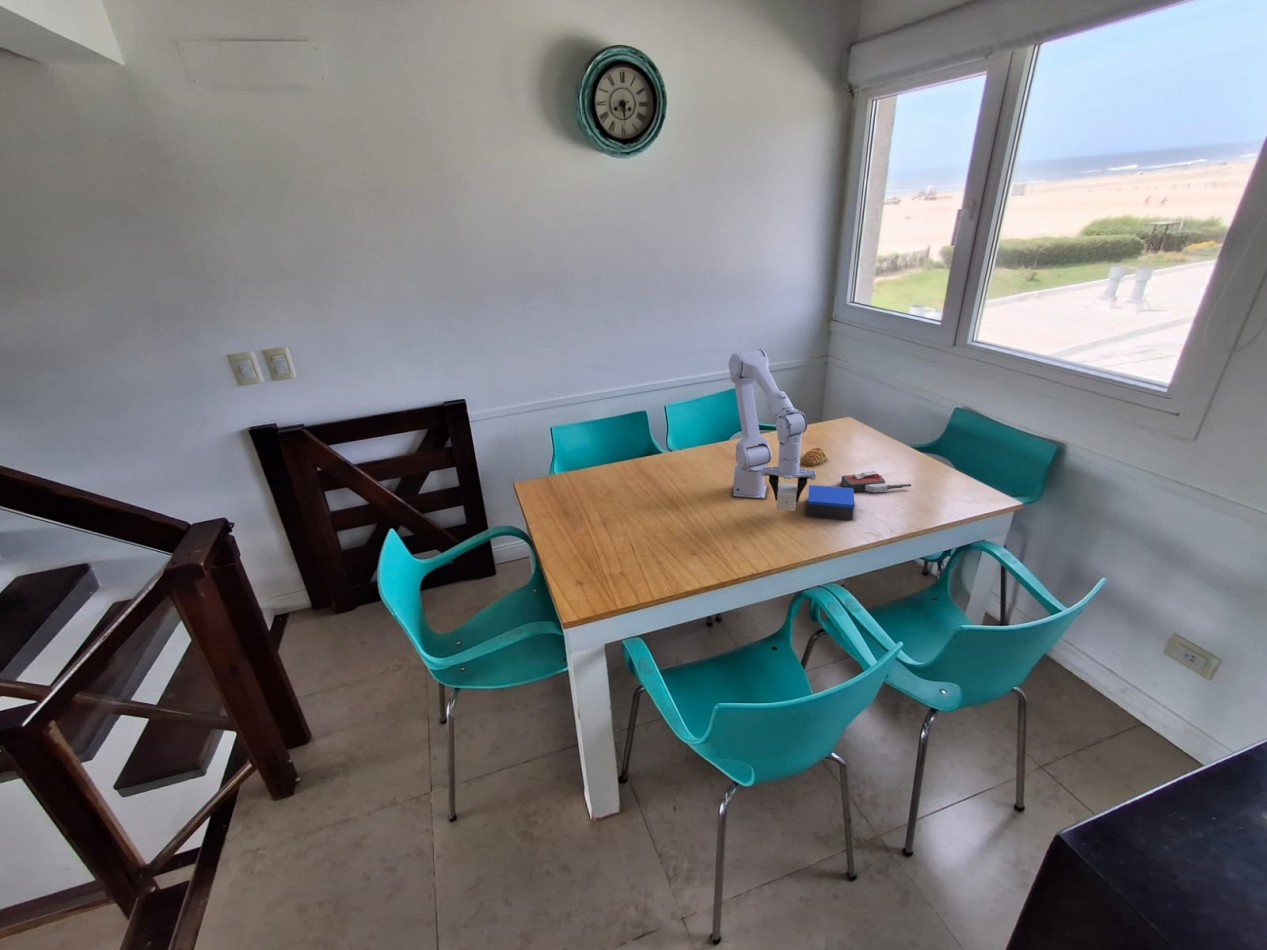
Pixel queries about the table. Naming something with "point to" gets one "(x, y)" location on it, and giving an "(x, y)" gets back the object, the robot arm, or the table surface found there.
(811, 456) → the pastry
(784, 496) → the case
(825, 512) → the container
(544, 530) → the table surface
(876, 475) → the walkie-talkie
